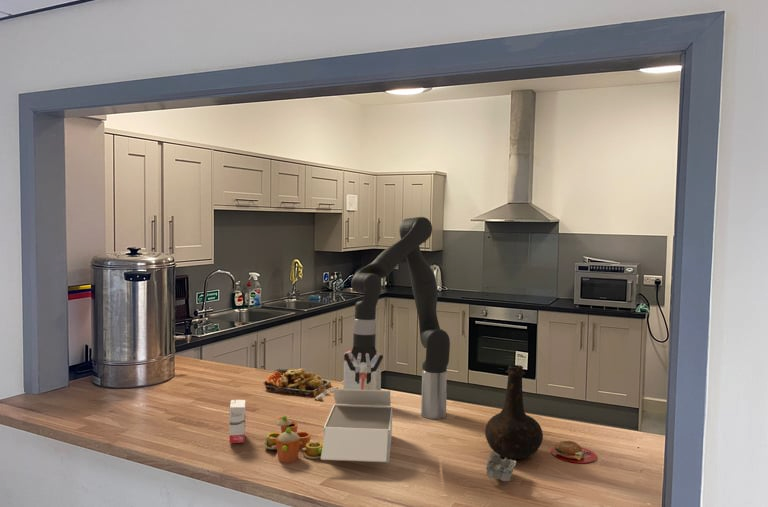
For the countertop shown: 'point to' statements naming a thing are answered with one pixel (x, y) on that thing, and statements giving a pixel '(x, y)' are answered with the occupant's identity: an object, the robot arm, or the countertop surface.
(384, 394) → the flap
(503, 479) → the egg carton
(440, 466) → the countertop surface
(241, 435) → the ink box
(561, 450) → the hamburger
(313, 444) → the toy tea set
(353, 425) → the carton
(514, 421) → the glass bottle
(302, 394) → the food tray
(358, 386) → the cracker box
